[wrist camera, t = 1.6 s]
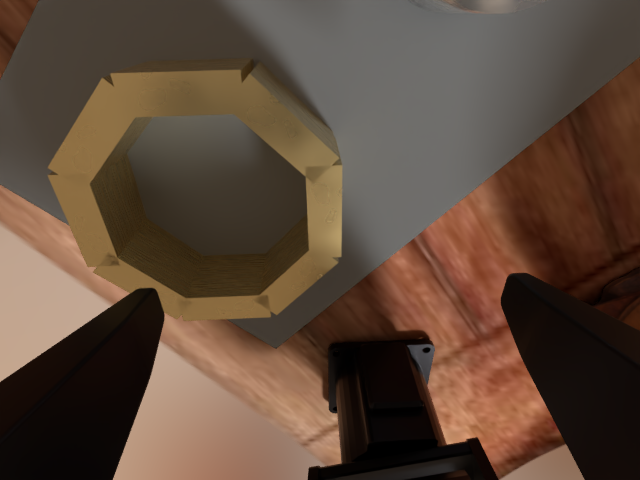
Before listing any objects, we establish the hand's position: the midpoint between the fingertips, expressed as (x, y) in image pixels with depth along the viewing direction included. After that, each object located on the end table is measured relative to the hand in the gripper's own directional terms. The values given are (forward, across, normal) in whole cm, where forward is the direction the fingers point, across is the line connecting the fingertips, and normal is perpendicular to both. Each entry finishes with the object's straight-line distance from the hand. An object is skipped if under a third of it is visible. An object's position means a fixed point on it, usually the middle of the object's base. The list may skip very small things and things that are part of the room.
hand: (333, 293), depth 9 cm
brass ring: (+7, +4, 0) cm, 8 cm away
